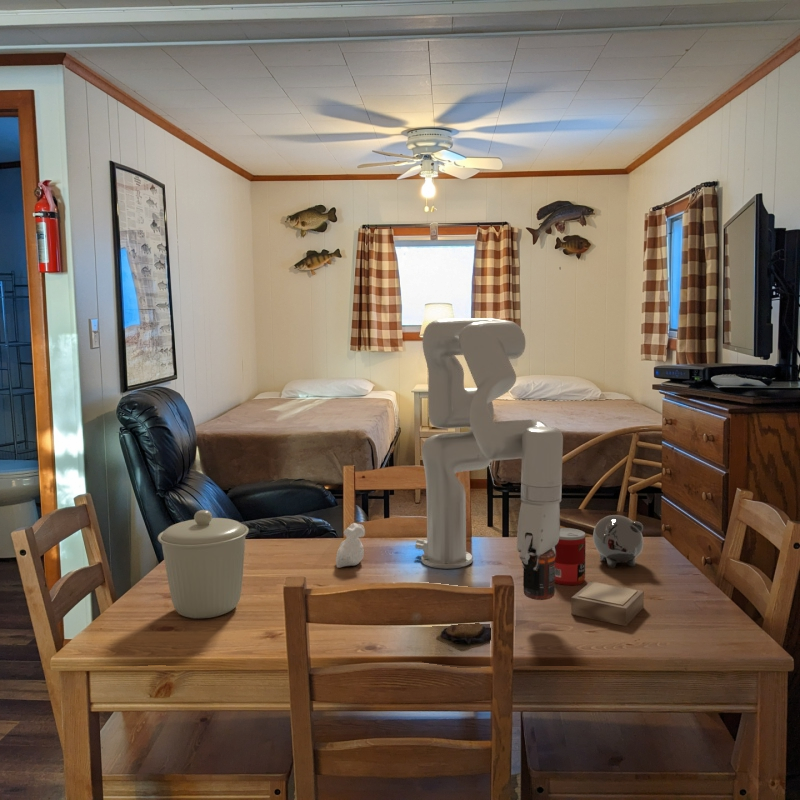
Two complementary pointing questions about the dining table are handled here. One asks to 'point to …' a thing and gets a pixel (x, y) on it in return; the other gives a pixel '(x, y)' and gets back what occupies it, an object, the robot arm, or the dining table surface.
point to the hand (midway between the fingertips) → (539, 582)
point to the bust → (351, 546)
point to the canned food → (570, 557)
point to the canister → (204, 564)
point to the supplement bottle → (544, 577)
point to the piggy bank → (618, 540)
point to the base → (607, 603)
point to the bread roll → (465, 636)
